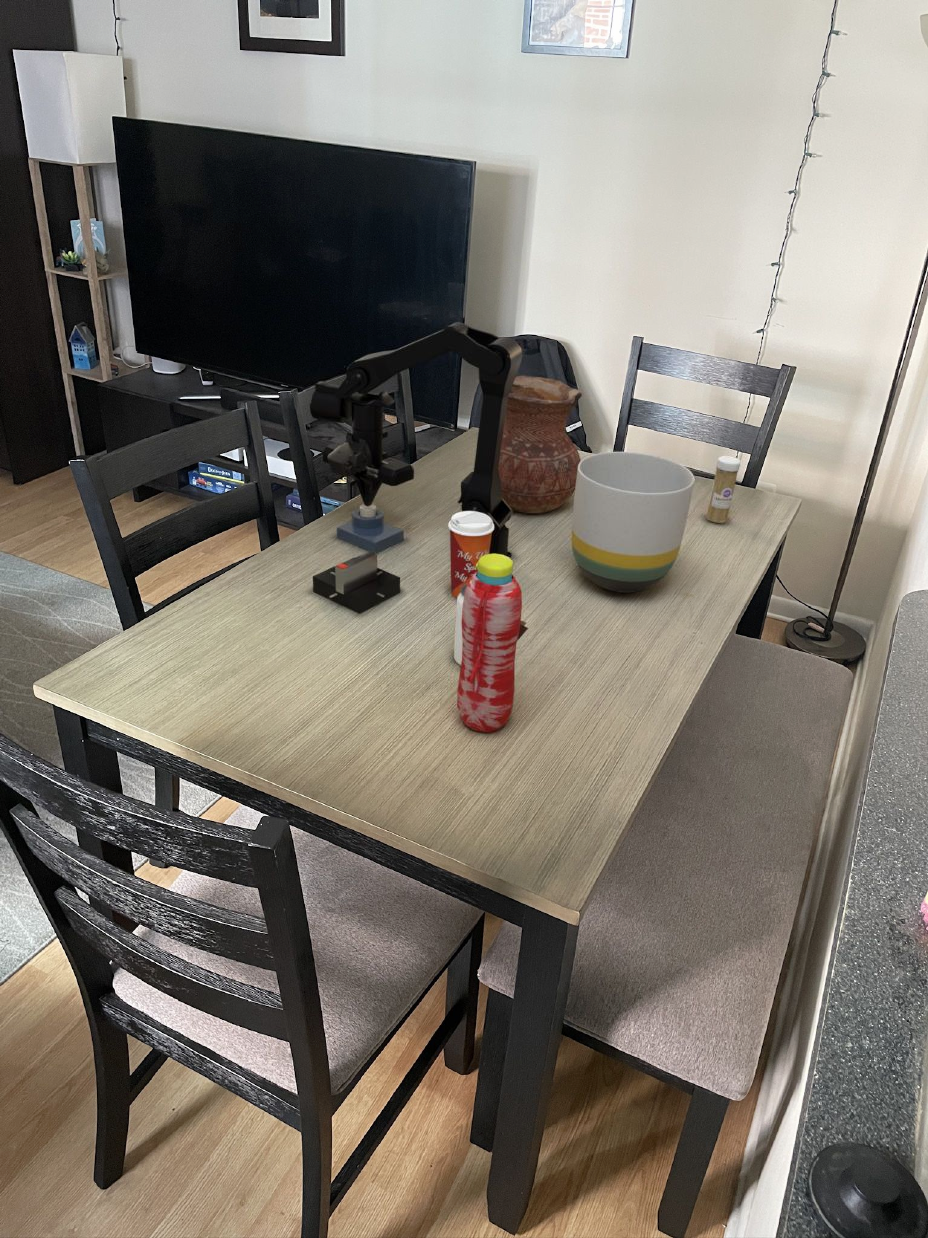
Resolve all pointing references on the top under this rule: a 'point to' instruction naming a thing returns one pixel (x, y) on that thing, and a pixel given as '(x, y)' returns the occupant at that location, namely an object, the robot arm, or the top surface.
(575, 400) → the jug
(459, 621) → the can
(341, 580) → the grey block red tab
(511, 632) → the water bottle
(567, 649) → the top surface
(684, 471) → the planter
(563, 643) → the top surface
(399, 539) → the blue stepped block
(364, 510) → the pump button
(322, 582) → the black dial base
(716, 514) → the sprinkles bottle
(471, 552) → the paper cup
